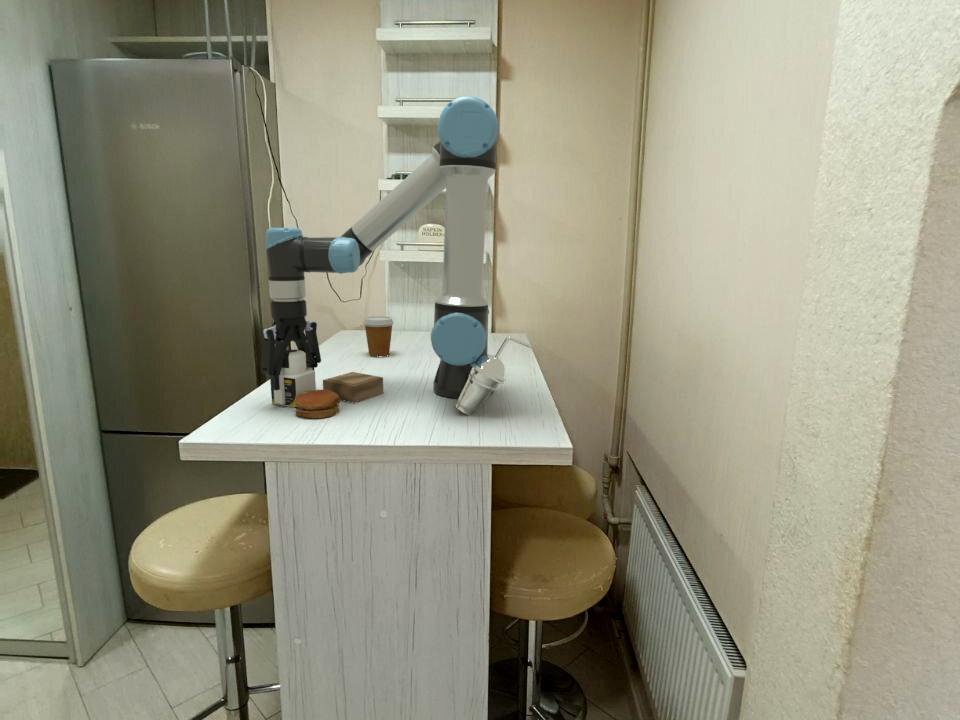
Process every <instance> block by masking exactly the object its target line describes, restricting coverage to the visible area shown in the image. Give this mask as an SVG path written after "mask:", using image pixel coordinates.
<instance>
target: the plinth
mask: <svg viewBox="0 0 960 720" xmlns="http://www.w3.org/2000/svg"><path fill="white" fill-rule="evenodd" d="M322 390H330V391H333V392H335V393H336V394H337V395H338V396H339V397H340V401H343V400H345V401H344V402H347V401H349V403H352V402H353V403H352V404H356V402H357V403H359V401H360V402H361V401H366V400H368V399H370V398H373V396H374V397H376V395H377V396H380V395H383V394H384V377H383V376H377V375H372V374H365V373H362V372H361V373H360V372H355V371H350V372H347V373H343V374H340V375H336V376H333V377H329V378H325V379H322ZM382 393H383V394H382ZM379 394H380V395H379Z"/></svg>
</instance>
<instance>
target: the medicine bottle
mask: <svg viewBox="0 0 960 720" xmlns="http://www.w3.org/2000/svg"><path fill="white" fill-rule="evenodd" d="M280 375H283V376H284V390H285V404H278V403H275V402H274V390H272V389H271V388H270V395H271V396H270V397H271V404H272V405H278V406H284V407H290V408H295V407H297V408H298V406H297V405H296V403H295V398H296V396H297V395H298V394H300V393H302V392H304V391H311V390H317V383H316V370H315V369H314V370H307V369H306V353H305V352H304V351H301V350H298V349H286V353H285V357H284V361H283V365H282V369H281V373H280ZM269 382H270V384H271V381H269Z"/></svg>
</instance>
